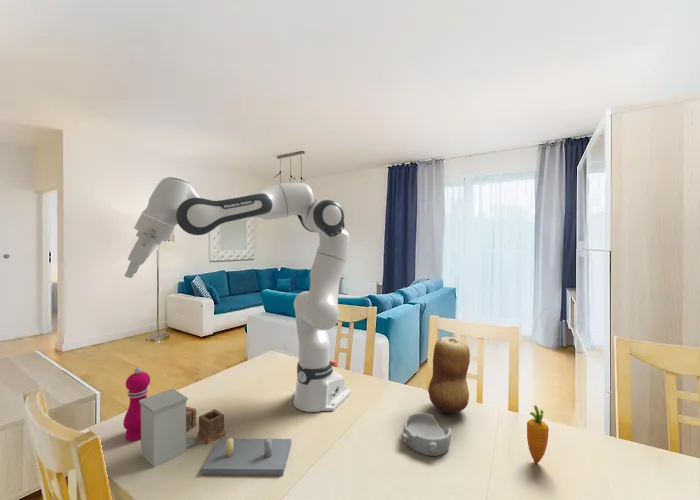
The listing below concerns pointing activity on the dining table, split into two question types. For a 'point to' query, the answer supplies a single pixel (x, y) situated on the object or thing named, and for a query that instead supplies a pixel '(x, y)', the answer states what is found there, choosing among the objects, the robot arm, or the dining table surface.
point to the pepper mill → (135, 403)
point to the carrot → (537, 435)
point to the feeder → (163, 427)
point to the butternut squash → (450, 375)
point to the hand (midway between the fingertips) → (130, 274)
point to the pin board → (248, 457)
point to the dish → (425, 434)
